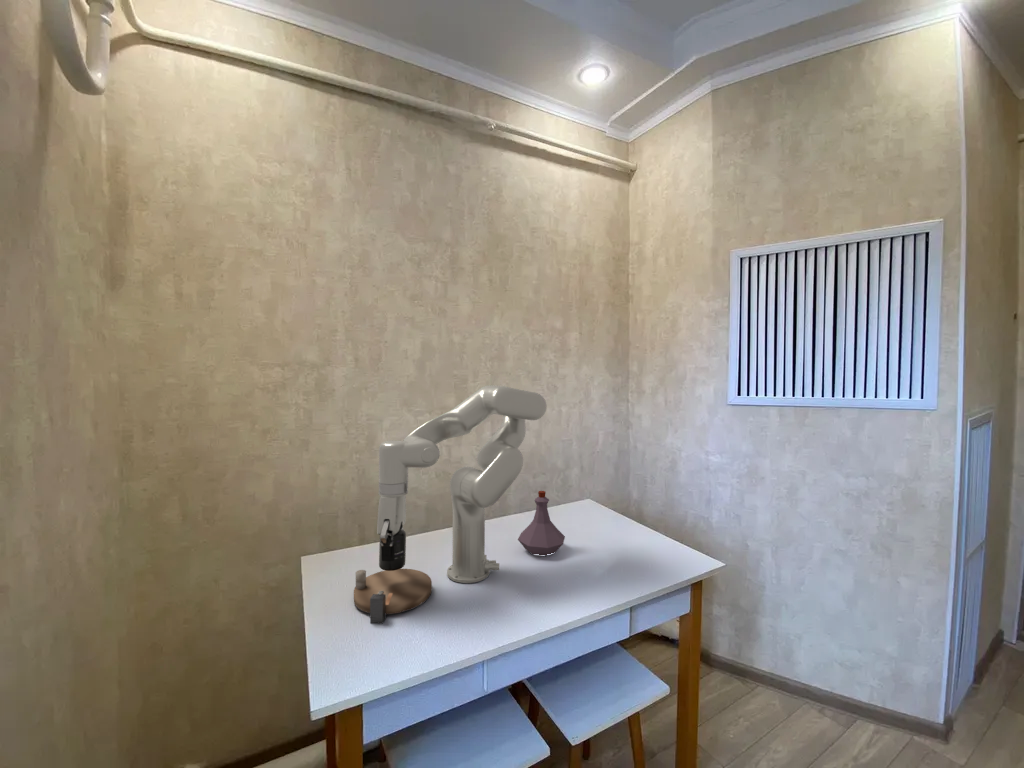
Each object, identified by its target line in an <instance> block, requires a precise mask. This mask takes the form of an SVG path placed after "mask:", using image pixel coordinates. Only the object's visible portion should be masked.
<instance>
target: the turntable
mask: <svg viewBox="0 0 1024 768" xmlns="http://www.w3.org/2000/svg"><path fill="white" fill-rule="evenodd" d="M432 588H433V581H432V579H431V577H430V575H428V574H427V573H425V572H423V571H421V570H417V569H412V568H401V569H398V570H394V571H386V570H382V571H378V572H375V573H372V574H370V575H368V576H367V570H365V569H359V570H356V571H355V587H354V589H353V604H354V605H355V607H356V608H357V609H359V610H361V611H362V612H365V613H368V614H370V598H371V597H372V595H373V594H378V593H379V591H384V594H386V615H393V614H399V613H403V612H407V611H410V610H412V609H414V608H417V607H419V606H420V605H423V603H425V602H426V601H427V600H428V599H429V598H430V597H431V594H432V591H433V590H432Z"/></svg>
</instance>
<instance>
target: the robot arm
mask: <svg viewBox="0 0 1024 768" xmlns="http://www.w3.org/2000/svg"><path fill="white" fill-rule="evenodd" d="M546 411H547V402H546V400H545V398H544V396H543V395H542V394H540V393H538V392H535V391H529V390H524V389H520V388H519V389H518V388H513V387H509V386H505V385H494V384H493V385H492V384H491V385H485V386H482V387H480V388H478V390H476V391H475V392H474V393H472V394H471V395H470V396H468V397H467V398H466V399H464V400H463V401H462V402H460V403H459V404H458V405H455V407H453V408H452V409H451V410H449V411H447V412H444V413H443V414H440V415H438V416H437V417H435V418H432V419H430V420H428V421H427V422H425V423H423V424H421V425H420V426H419V427H417V428H415V430H413V431H412V432H411V433H408V434H407V436H406V437H405V438H403V440H386V441H382V442H381V443H380V445H379V447H378V448H379V449H378V495H379V500H378V501H379V502H378V509H377V522H376V523H377V525H376V527H377V528H376V534H377V535H378V536H379V539H380V538H381V542H382V543H381V546H382V561H394V559H395V545H393V543H394V536H395V534H396V533H397V532H398V531H399V529H400V526H401V522H402V521H403V526H405V524H406V521H407V500H406V498H407V497H406V496H407V494H408V493H409V468H410V469H411V468H416V469H417V468H418V469H426V468H430V467H432V466H434V465H435V464H436V463H438V461H439V459H440V456H441V454H440V453H441V451H440V447H438V444H440V443H441V442H444V441H445V440H448V439H452V438H458V437H462V436H465V435H468V434H470V433H471V432H472V431H474V430H475V429H476V428H477V427H479V426H480V425H481V424H482V423H484V422H485V421H486V420H488V419H489V418H490V417H492V415H499V416H502V422H501V424H500V426H499V428H498V429H497V430H496V432H495V433H494V434H492V436H491V437H490V438H489V439H488V441H486V443H485V444H484V445H483V446H482V447H481V448H480V450H479V451H478V453H477V455H476V462H477V465H478V466H479V467H480V469H482V470H480V469H478V468H476V467H473V466H472V467H471V466H463V467H460V468H458V469H456V470H455V471H454V472H453V473H452V476H451V478H450V481H449V491H450V496H451V504H452V505H451V506H452V507H451V508H452V562H451V563H452V564H451V565H450V566H449V567H448V568H447V569H446V577H448V579H450V580H451V581H453V582H456V583H460V584H474V583H479V582H481V581H484V580H485V579H487V578H488V577H489V575H490V573H491V571H499V570H500V563H499V562H497V560H496V559H495V560H489V559H488V557H487V554H485V548H486V545H485V544H486V543H485V539H486V538H485V537H486V536H485V531H486V528H485V526H486V524H485V523H486V511H485V509H486V508H489V507H492V506H493V505H494V504H495V503H497V502H498V501H499V500H500V498H501V497H502V496H503V494H505V492H506V491H507V490H508V489H509V488H510V486H511V485H513V483H514V482H515V480H516V479H517V477H519V475H520V474H521V471H522V469H523V466H524V457H523V454H522V453H523V452H521V450H520V449H519V447H520V446H521V445H522V443H523V442H524V441H525V437H526V431H527V430H526V427H527V426H526V420H527V421H537V420H540V419H541V418H542V417H544V415H545V413H546ZM402 529H403V530H404V531H405V529H404V527H403V528H402ZM388 531H392V533H388ZM380 534H381V535H380ZM388 536H391V540H390V539H389V538H387V537H388Z"/></svg>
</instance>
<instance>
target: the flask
mask: <svg viewBox="0 0 1024 768" xmlns="http://www.w3.org/2000/svg"><path fill="white" fill-rule="evenodd" d="M537 495H538V496H537V497H536V498H535V499H534V502H535V506H536V507H535V508H536V509H535V513H534V516H533V520H532V521H531V522H530V523H529V525H528V526H527V527H525V529H524V530H523V531H521V532H520V534H519V536H518V538H517V541H518V542H519V543H520V545H522V546H523V548H524V549H525V550H526V552H528V551H529V552H531V553H532V554H539V555H547V554H551V553H554V552H555V553H556V552H557V551H558V550H559V549H560V548H561V547H562V546H563V545H564V543H565V539H566V536H565V535H564V534H563V533H562V532H561V531H560V530H559V529H558V528H557V527H556V525H555V524H554V523H553V522H552V521H551V518H550V513H549V509H548V503H549V501H550V499H549V498H548V497H546V491H545V490H538V492H537ZM529 552H528V553H529ZM531 553H530V554H531ZM555 553H554V554H555ZM532 554H531V555H532Z"/></svg>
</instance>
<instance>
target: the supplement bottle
mask: <svg viewBox="0 0 1024 768" xmlns="http://www.w3.org/2000/svg"><path fill="white" fill-rule="evenodd" d="M402 528H403V529H404V525H403V521H402V522H401V526H400V529H399V531H398V532H397V533H396V534H395V536H394V543H393V545H395V559H394V561H382V546H381V543H382V542H381V538H380V537H379V545H378V546H379V547H378V549H379V550H378V552H379V554H378V567H379V568H380V569H381V570H382V571H385V570H386V571H394V570H398V569H403V567H405V565H406V557H407V555H406V553H407V552H406V551H407V533H406V531H405V529H404V530H403V529H402ZM388 533H392V531H388ZM380 535H381V534H380ZM380 535H379V536H380ZM387 538H389V539H390V540H391V536H388V537H387Z"/></svg>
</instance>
